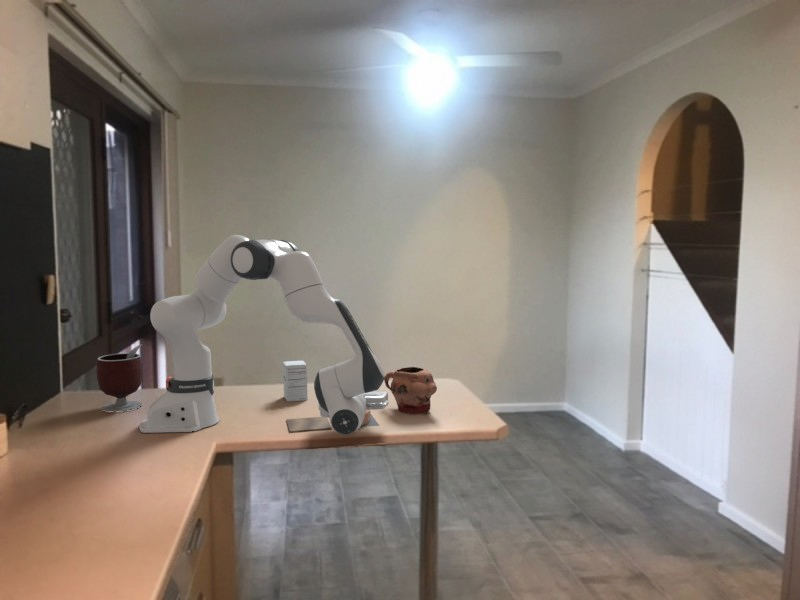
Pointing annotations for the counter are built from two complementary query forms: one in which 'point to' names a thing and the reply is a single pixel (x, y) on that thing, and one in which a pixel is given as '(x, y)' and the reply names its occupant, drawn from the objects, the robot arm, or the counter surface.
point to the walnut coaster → (308, 424)
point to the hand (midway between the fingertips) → (355, 393)
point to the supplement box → (295, 380)
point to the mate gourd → (120, 378)
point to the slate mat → (371, 423)
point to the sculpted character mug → (412, 389)
